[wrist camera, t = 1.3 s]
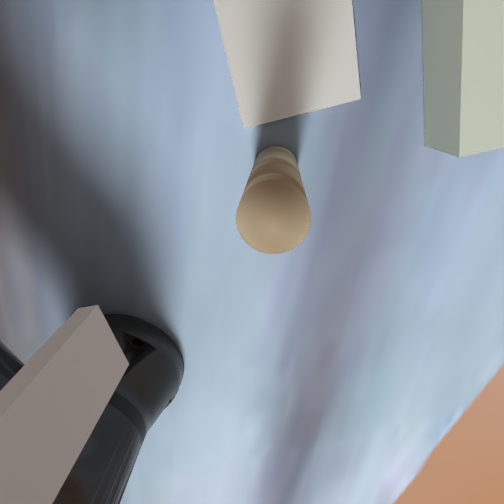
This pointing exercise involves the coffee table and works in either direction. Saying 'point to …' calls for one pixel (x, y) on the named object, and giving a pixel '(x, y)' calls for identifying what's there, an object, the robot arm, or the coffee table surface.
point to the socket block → (463, 75)
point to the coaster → (289, 56)
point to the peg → (274, 203)
